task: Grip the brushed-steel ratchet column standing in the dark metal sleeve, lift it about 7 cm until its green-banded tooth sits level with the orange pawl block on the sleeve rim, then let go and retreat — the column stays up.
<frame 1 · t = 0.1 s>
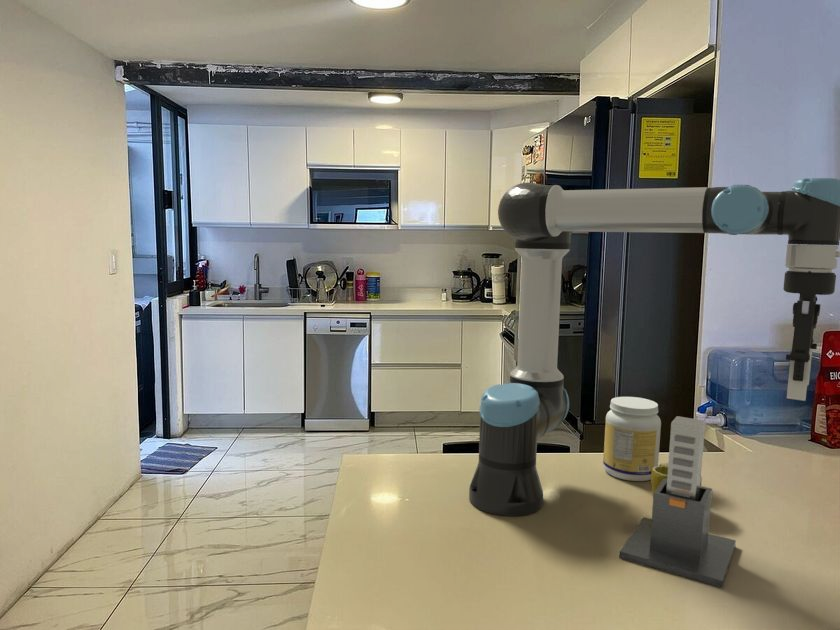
hand: (798, 391, 110), 28 cm above the counter, fingers open, 13 cm apart
mug: (672, 506, 129), on the counter
supplement tub: (629, 473, 146), on the counter
stand: (678, 552, 109), on the counter
column: (683, 484, 107), point 12 cm above the counter, slide at 0.0 cm
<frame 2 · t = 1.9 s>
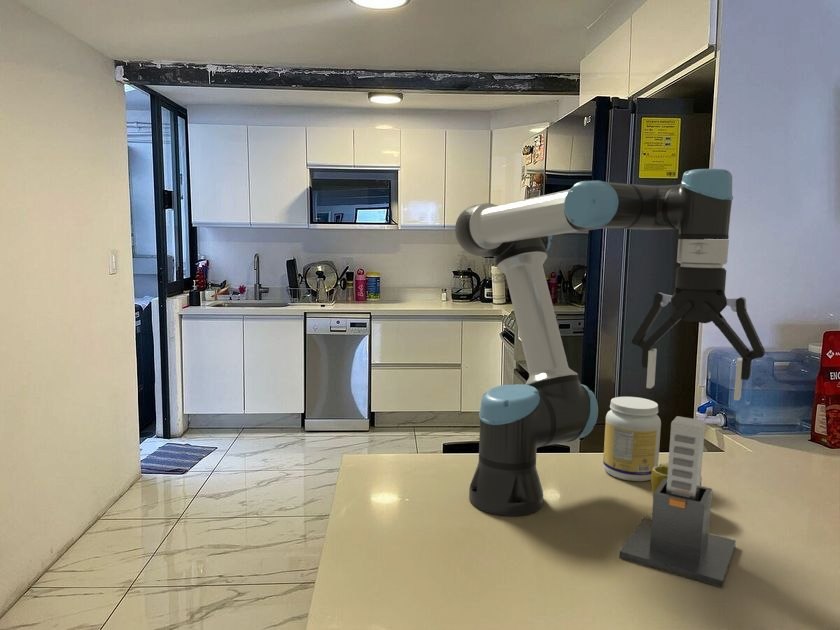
hand: (692, 392, 105), 29 cm above the counter, fingers open, 13 cm apart
nothing on the counter moved.
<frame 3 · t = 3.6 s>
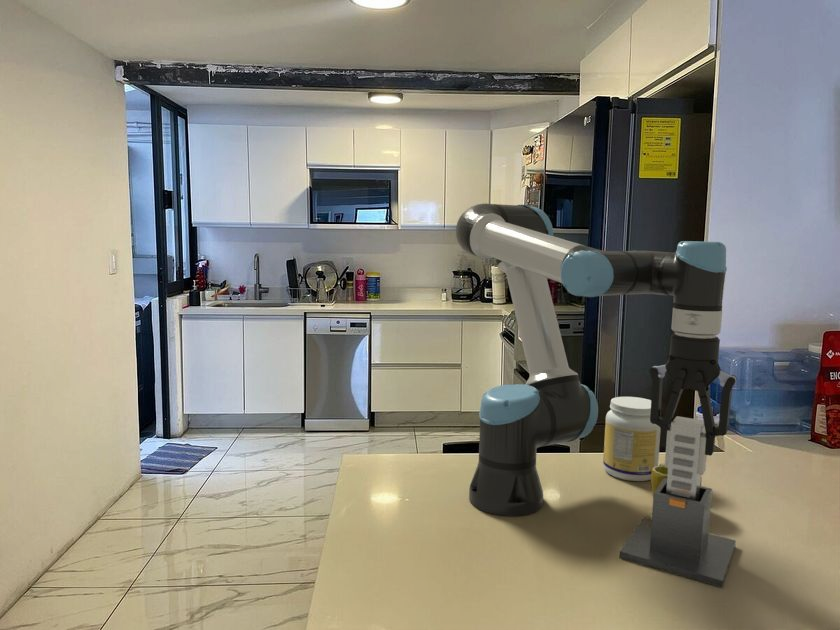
hand: (684, 468, 107), 15 cm above the counter, fingers closed on column, 5 cm apart
column: (683, 484, 107), point 12 cm above the counter, slide at 0.0 cm, touching gripper
everything else where it was.
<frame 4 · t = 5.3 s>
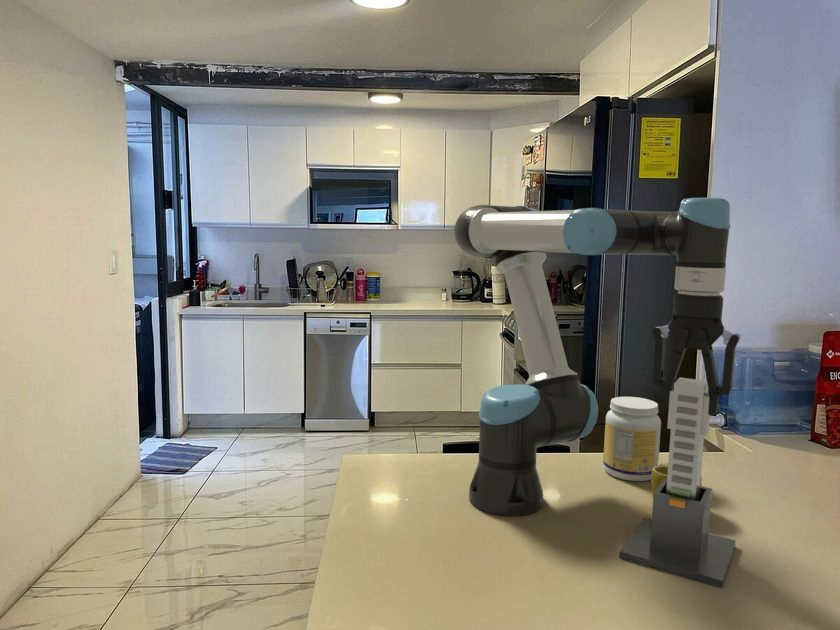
hand: (687, 429, 106), 22 cm above the counter, fingers closed on column, 5 cm apart
column: (686, 445, 107), point 19 cm above the counter, slide at 6.9 cm, touching gripper
everything else where it was.
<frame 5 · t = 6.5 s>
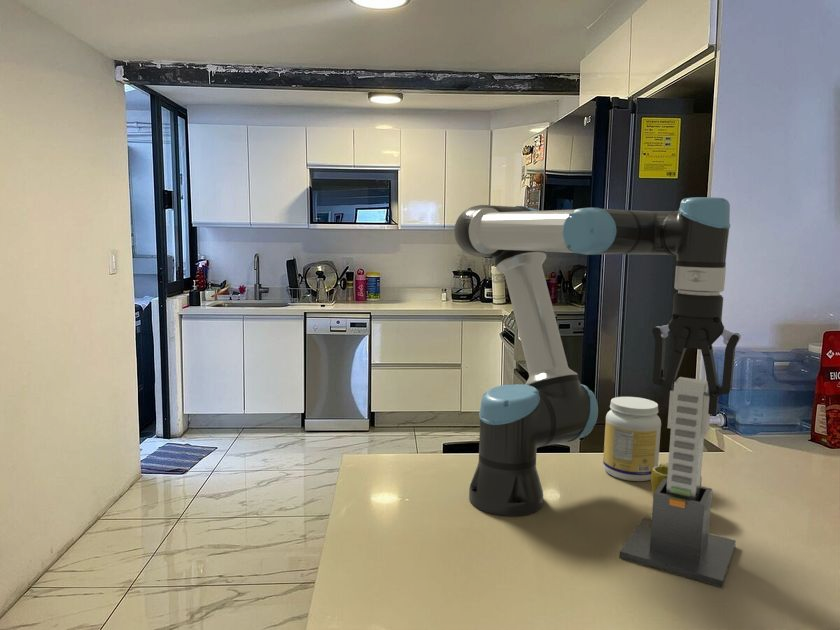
hand: (687, 429, 106), 22 cm above the counter, fingers closed on column, 5 cm apart
column: (686, 444, 107), point 19 cm above the counter, slide at 7.0 cm, touching gripper
everything else where it was.
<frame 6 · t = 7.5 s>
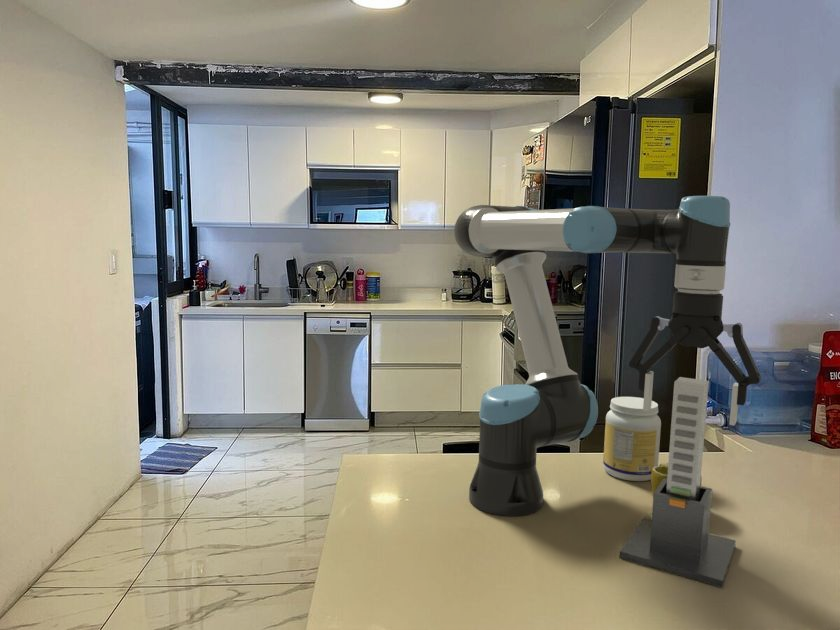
hand: (688, 416, 106), 24 cm above the counter, fingers open, 13 cm apart
column: (686, 444, 107), point 19 cm above the counter, slide at 7.0 cm
everything else where it was.
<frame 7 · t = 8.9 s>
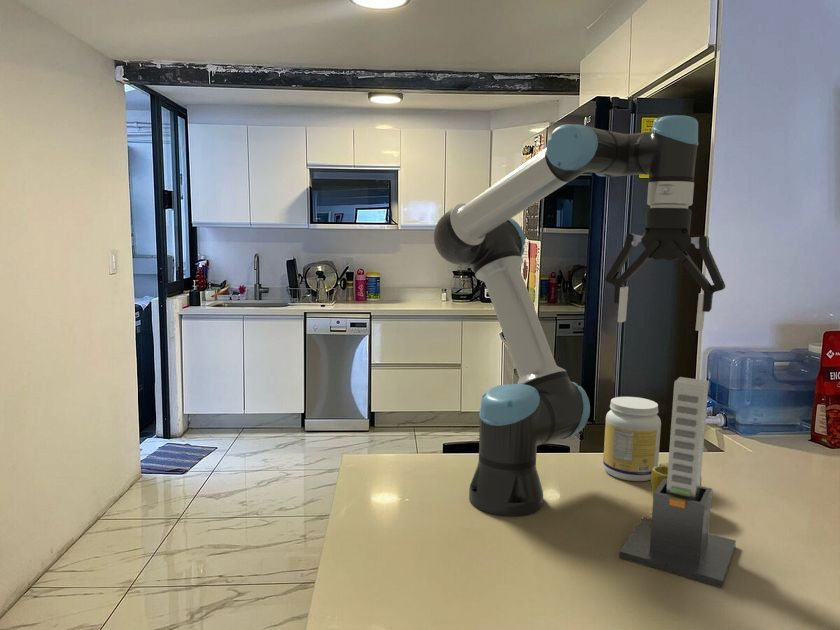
hand: (659, 325, 114), 38 cm above the counter, fingers open, 13 cm apart
nothing on the counter moved.
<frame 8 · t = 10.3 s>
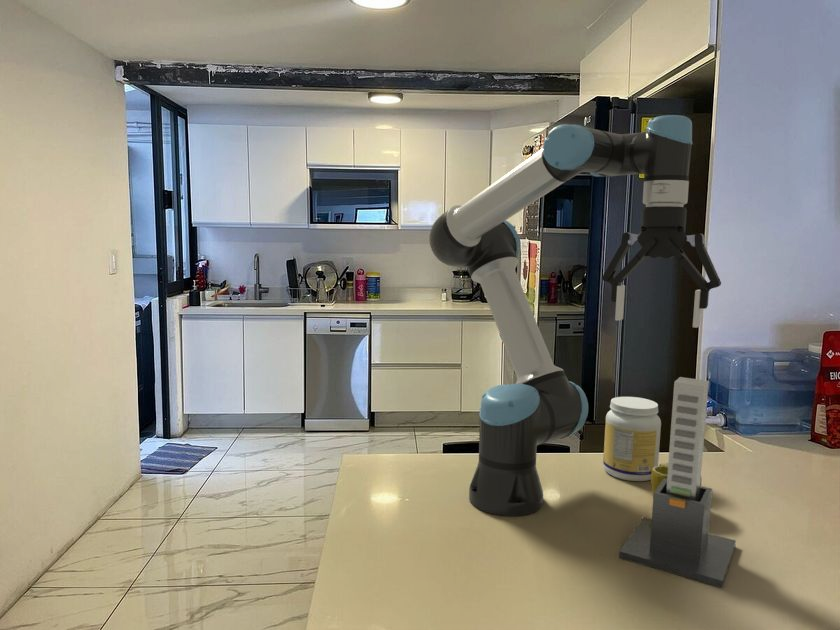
hand: (656, 323, 115), 39 cm above the counter, fingers open, 13 cm apart
nothing on the counter moved.
at the end: column slide at 7.0 cm; the gripper is holding nothing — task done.
